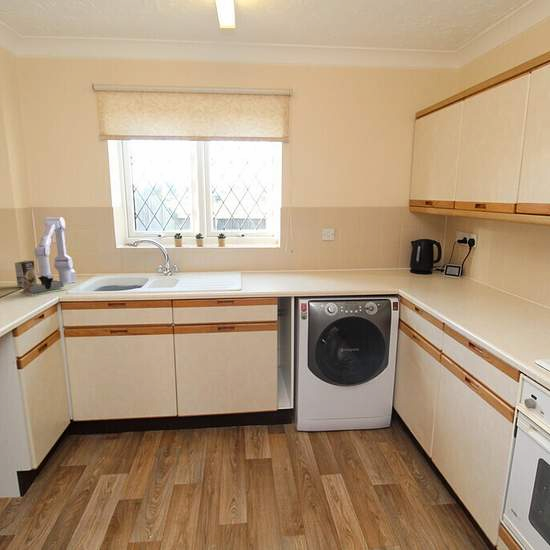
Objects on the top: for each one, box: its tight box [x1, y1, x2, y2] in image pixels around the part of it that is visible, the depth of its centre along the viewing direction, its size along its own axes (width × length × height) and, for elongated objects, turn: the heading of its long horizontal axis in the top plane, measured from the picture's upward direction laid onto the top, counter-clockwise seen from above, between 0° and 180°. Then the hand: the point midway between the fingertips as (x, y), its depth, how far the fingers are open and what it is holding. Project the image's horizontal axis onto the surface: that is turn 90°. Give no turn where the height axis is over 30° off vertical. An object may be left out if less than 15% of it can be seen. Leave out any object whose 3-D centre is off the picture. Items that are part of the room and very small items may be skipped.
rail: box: [29, 280, 65, 293], centre depth 241 cm, size 18×4×4 cm, turn 140°
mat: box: [26, 287, 67, 297], centre depth 241 cm, size 20×8×1 cm, turn 140°
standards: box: [22, 279, 58, 294], centre depth 247 cm, size 18×8×5 cm, turn 140°
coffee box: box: [14, 260, 38, 289], centre depth 255 cm, size 9×6×16 cm
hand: (47, 288), depth 241 cm, fingers closed on rail, 3 cm apart
